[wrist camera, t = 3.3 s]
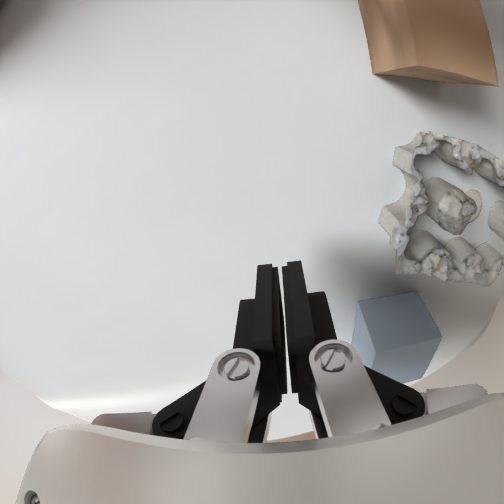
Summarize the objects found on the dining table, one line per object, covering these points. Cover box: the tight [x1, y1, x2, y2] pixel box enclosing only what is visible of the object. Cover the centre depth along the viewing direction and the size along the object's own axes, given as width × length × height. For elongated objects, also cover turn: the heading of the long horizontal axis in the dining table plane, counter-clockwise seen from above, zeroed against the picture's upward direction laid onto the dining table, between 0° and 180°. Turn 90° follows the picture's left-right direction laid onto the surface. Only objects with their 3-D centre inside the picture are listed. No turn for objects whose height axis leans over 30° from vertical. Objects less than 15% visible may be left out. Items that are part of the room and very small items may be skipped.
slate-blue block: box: [352, 291, 442, 384], centre depth 16 cm, size 4×4×4 cm
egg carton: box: [378, 131, 504, 286], centre depth 11 cm, size 11×8×4 cm
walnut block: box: [358, 0, 498, 86], centre depth 7 cm, size 4×4×4 cm
